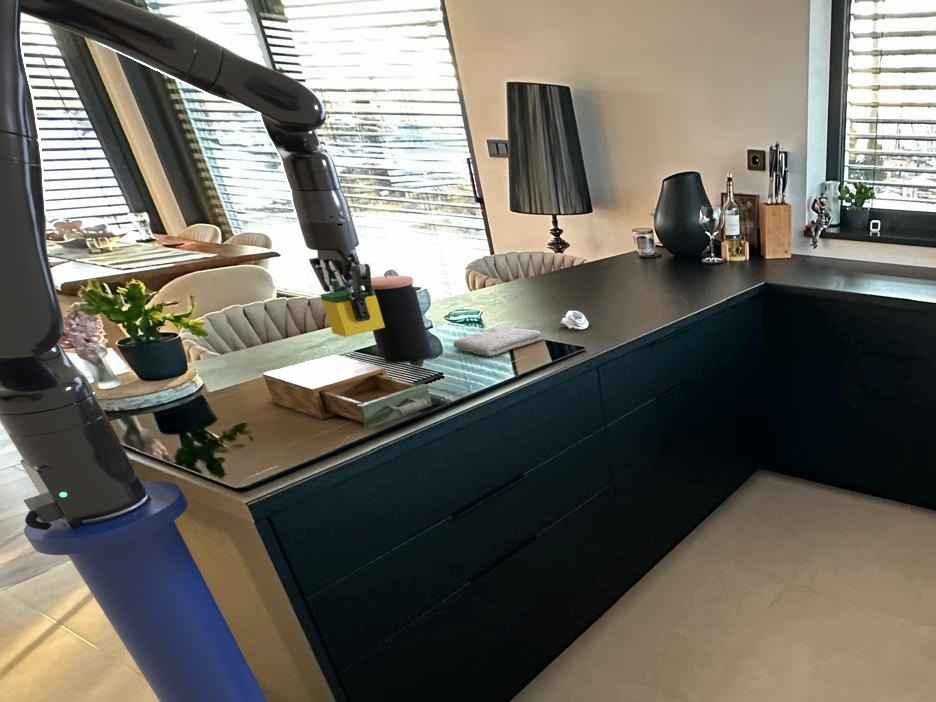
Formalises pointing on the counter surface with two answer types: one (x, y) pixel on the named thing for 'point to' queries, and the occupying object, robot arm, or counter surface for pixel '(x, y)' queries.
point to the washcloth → (497, 340)
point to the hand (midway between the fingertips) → (355, 318)
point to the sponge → (350, 314)
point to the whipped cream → (574, 320)
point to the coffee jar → (399, 320)
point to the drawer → (375, 399)
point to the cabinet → (315, 382)
